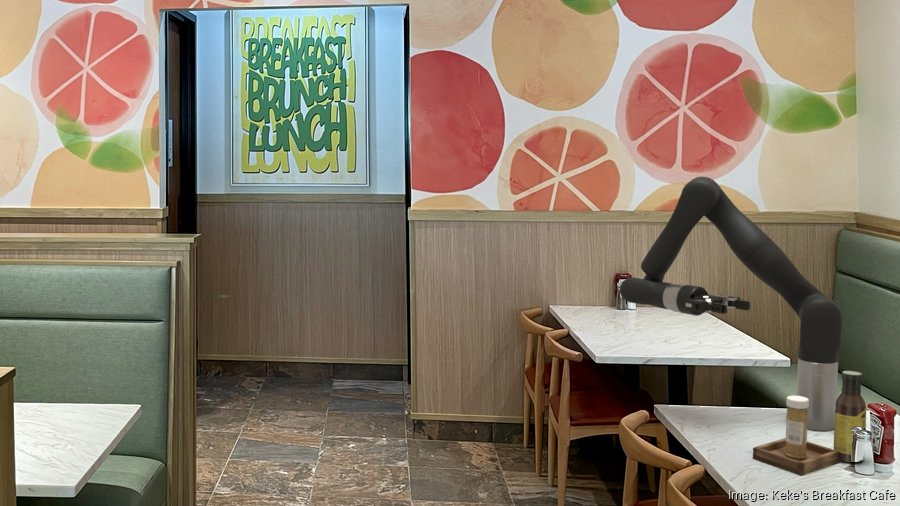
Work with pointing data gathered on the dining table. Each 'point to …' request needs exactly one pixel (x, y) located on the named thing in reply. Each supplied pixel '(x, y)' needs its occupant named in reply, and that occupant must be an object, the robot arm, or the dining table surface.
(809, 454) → the tray
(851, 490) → the dining table surface
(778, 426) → the dining table surface
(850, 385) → the sauce bottle
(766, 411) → the dining table surface
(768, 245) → the robot arm
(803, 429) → the sprinkles bottle
